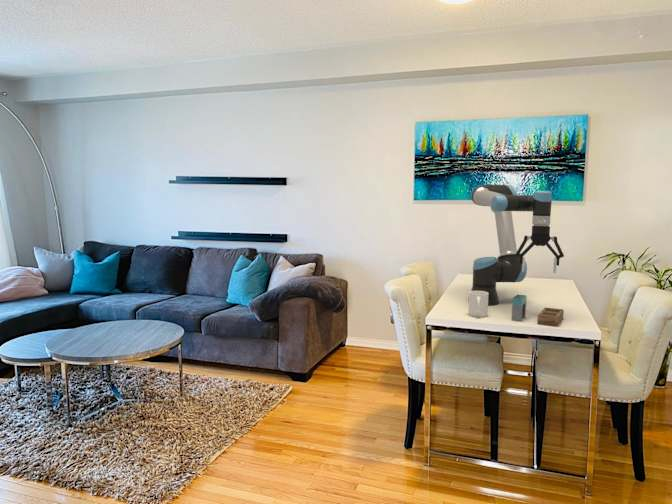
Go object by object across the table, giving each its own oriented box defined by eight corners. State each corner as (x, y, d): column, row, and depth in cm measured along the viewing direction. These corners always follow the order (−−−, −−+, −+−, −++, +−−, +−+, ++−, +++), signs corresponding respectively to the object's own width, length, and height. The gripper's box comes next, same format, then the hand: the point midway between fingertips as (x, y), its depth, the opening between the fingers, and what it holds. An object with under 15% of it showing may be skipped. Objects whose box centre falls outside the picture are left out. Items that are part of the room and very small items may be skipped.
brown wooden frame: (557, 326, 219) (557, 317, 219) (537, 324, 223) (537, 315, 223) (563, 318, 234) (563, 309, 234) (544, 315, 239) (544, 307, 238)
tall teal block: (520, 321, 228) (522, 299, 226) (511, 320, 230) (512, 298, 228) (525, 317, 236) (526, 295, 235) (516, 315, 238) (517, 294, 237)
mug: (467, 318, 233) (468, 294, 231) (468, 312, 244) (469, 290, 243) (487, 319, 230) (488, 296, 229) (487, 313, 242) (488, 291, 241)
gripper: (512, 225, 232) (510, 271, 235) (572, 226, 226) (569, 274, 228) (511, 224, 240) (509, 269, 242) (569, 225, 233) (566, 272, 236)
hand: (538, 272), depth 235 cm, fingers open, 13 cm apart
